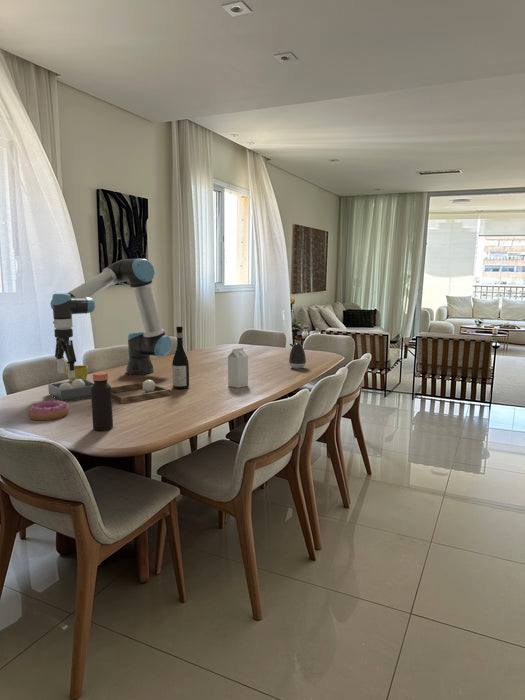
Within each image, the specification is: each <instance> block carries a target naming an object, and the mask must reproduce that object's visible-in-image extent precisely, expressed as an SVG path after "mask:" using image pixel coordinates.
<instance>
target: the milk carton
mask: <svg viewBox="0 0 525 700" xmlns="http://www.w3.org/2000/svg"><path fill="white" fill-rule="evenodd" d="M231 350H232V351H231V352H230V353H229V354H228V355H227V386H228V387H232V388H237V389H239V388H243V387H244V388H245V387H248V386H249V356H248V354H247V353H246V352H245V350H244V347H237V348H232V349H231Z"/></svg>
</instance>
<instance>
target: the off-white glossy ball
mask: <svg viewBox="0 0 525 700" xmlns="http://www.w3.org/2000/svg"><path fill="white" fill-rule="evenodd" d="M71 385H72V386H73V388H79V387H85V382H84V381H83V380H81V379H76V380H74V381H73V382H72V384H71Z"/></svg>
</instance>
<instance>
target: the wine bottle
mask: <svg viewBox="0 0 525 700" xmlns="http://www.w3.org/2000/svg"><path fill="white" fill-rule="evenodd" d="M175 330H176V349H175V353H174V356H173V359H172V363H171V371H172V372H171V373H172V374H171V375H172V377H171V378H172V387H173V388H174V389H177V390H183V389H184V390H186V389H188V388H189V387H190V365H189V359H188V356H187V354H186V352H185V349H184V342H183V340H184V339H183V331H184V329H183V326H176V327H175Z"/></svg>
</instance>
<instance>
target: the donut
mask: <svg viewBox="0 0 525 700" xmlns="http://www.w3.org/2000/svg"><path fill="white" fill-rule="evenodd" d="M69 410H70V409H69V405H68V403H67V401H59V400H57V399H56V400H53V399H51V400H44V401H39V402H35V403H33V404H31V405H30V406H29V407H28V412H27V414H28V417H29V418H30V419H31V420H35V421H51V420H52V421H53V420H57V419H61V418H63V417H65V416H67V415H68V413H69Z"/></svg>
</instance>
